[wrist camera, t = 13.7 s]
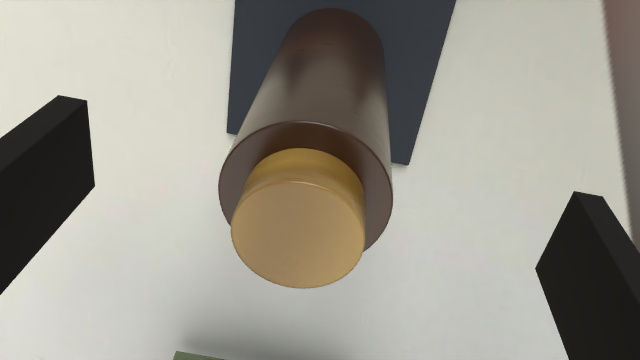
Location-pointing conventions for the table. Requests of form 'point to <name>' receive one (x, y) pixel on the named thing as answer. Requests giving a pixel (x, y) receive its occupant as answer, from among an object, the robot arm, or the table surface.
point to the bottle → (313, 155)
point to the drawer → (191, 357)
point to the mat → (396, 37)
